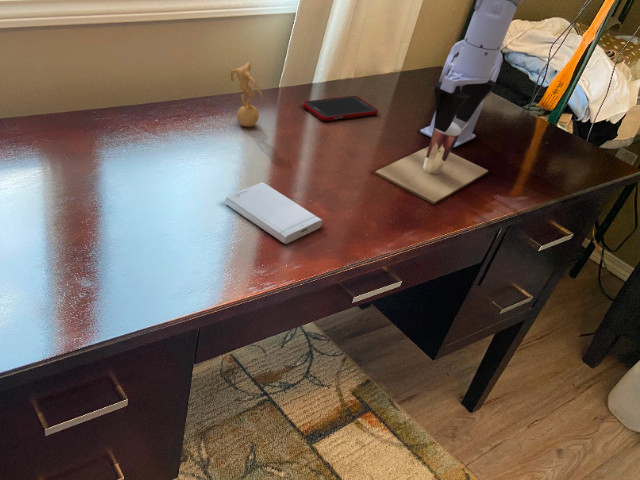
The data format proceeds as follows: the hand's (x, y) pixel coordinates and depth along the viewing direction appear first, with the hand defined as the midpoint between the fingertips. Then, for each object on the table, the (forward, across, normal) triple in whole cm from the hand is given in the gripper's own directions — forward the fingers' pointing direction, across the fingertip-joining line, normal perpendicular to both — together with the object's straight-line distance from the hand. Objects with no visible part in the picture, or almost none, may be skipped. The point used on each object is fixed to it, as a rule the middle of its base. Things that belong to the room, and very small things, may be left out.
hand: (451, 124), depth 104 cm
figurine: (+9, +18, -31) cm, 37 cm away
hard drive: (+9, +36, -7) cm, 38 cm away
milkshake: (+9, 0, 0) cm, 9 cm away
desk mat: (+9, 0, 0) cm, 9 cm away
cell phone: (+9, -6, -26) cm, 28 cm away
